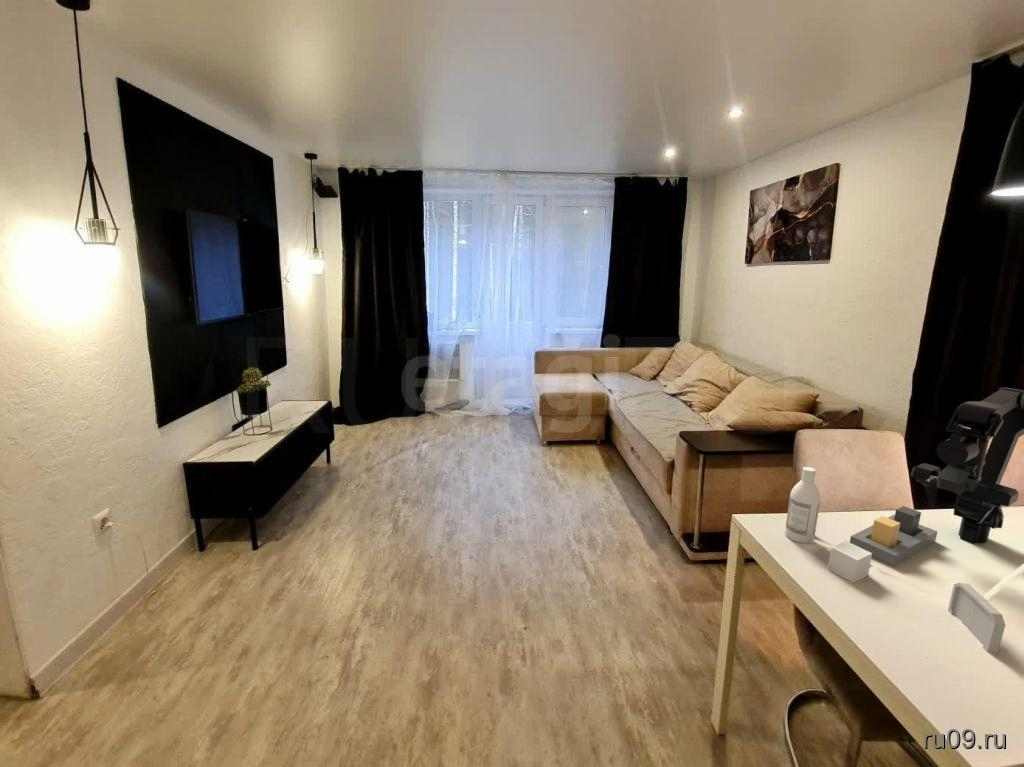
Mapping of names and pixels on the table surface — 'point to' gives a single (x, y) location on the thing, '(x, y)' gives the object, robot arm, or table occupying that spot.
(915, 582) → the table surface
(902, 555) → the grey piece
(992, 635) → the light switch
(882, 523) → the amber plug
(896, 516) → the dark gray plug
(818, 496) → the bath foam
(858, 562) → the white cube
